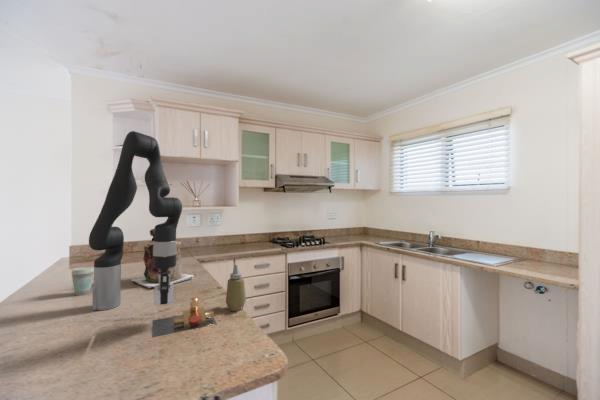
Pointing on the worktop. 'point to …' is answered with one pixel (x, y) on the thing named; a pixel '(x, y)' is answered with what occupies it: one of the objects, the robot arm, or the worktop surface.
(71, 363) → the worktop surface
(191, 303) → the valve station
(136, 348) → the worktop surface
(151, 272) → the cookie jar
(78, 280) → the coffee cup
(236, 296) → the squeeze bottle
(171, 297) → the steel fitting
